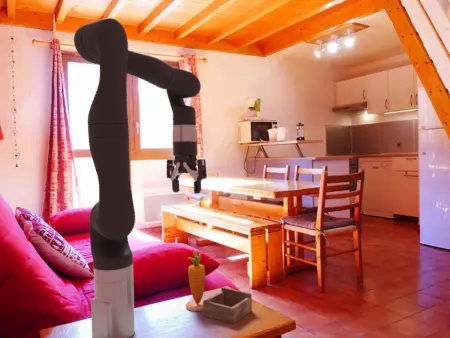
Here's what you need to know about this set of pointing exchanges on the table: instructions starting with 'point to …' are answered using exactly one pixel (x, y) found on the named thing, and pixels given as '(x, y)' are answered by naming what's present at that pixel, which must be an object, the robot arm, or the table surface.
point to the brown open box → (228, 305)
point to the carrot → (196, 278)
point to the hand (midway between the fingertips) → (186, 192)
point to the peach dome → (194, 306)
